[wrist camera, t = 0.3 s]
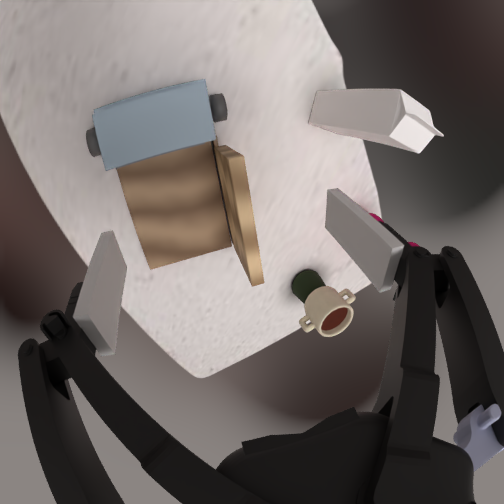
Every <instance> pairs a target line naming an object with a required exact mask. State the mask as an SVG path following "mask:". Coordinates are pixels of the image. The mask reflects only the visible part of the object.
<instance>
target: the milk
mask: <svg viewBox="0 0 504 504" xmlns="http://www.w3.org/2000/svg"><path fill="white" fill-rule="evenodd" d="M308 123H309V124H311V125H314V126H317V127H320V128H322V129H325V130H328V131H331V132H333V133H336V134H340V135H345V136H351V137H355V138H360V139H365V140H369V141H374V142H378V143H382V144H386V145H390V146H394V147H398V148H402V149H405V150H409V151H413V152H416V153H420V152H421V151H422V150H423V149H424V147H425V146H426V145H427V144H428V143H429V142H430V140H431V139H432V138H433V137H434V136H435V135H439V136H444V135H443V134H441V133H440V132H439V131H438V130H437V129H435V128H434V126H433V122H432V118H431V114H430V111H429V110H428V109H426V108H425V107H424V106H423V105H421V104H420V103H419V102H417V101H416V100H415V99H413V98H412V97H410V96H409V95H408V94H406V93H405V92H403V91H402V90H400V89H344V90H327V91H317V92H316V96H315V100H314V104H313V107H312V111H311V115H310V119H309V122H308Z"/></svg>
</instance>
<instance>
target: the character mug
mask: <svg viewBox="0 0 504 504" xmlns="http://www.w3.org/2000/svg"><path fill="white" fill-rule="evenodd" d="M292 290H293V293H294V294H295V295H296V296H297V297H298V298H299V299H300V300H301V301H302V302H303V303H304V304H305V305H304V308H305V312H306V316H304V317H303V318H301V319H300V320H299V323H300V325H301V327H302V328H303V330H304V331H305V332H310V331H311V330H313V329H314V328H316V329H317V331H318V332H319V333H320V334H321V335H323V336H325V337H331V336H335V335H337V334H339V333H341V332H342V331H343V330H345V329H346V327H347V326H348V325H349V324H350V322H351V321H352V318H353V309H352V308H351V306H350V305H349V304H350V303H352V302H353V301H354V300H355V299H356V298H355V296H354V295H353V294H352V293H351V292H350V291H349V290H348V289H344V290H343V291H341V292H340V293H338V292H337V291H336V290H335V289H334V288H331V287H329V286H326V285H325V283H324V282H323V280H322V279H321V277H320V276H319V275H318V273H317V272H315V271H312V270H308V271H303V272H302V273H300V274H299V275H297V277H296V278H295V280H294V281H293V285H292ZM345 295H347V296H348V297H349V298H348V299H347V300H344V298H343V296H345ZM309 319H310V321H311V322H312V324H310V325H309V326H307V324H306V323H305V322H306V321H308V320H309Z"/></svg>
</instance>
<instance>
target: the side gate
mask: <svg viewBox="0 0 504 504" xmlns="http://www.w3.org/2000/svg"><path fill="white" fill-rule="evenodd" d="M214 150H215V155H216V160H217V165H218V170H219V175H220V180H221V185H222V190H223V196H224V200H225V205H226V210H227V215H228V220H229V225H230V230H231V235H232V240H233V244H234V248H235V250H236V253H237V255H238V257H239V259H240V261H241V263H242V266H243V268H244V270H245V272H246V274H247V276H248V279H249V281H250V283H251V285H252V286H256V285H259V284H263V283H264V278H263V271H262V265H261V259H260V252H259V246H258V240H257V234H256V227H255V221H254V215H253V209H252V203H251V196H250V190H249V184H248V178H247V172H246V166H245V160H244V156H243V155H241V154H240V153H238V152H236V151H235V150H233V149H231V148H230V147H228V146H226V145H223V146H219V147H214Z"/></svg>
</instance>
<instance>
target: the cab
mask: <svg viewBox="0 0 504 504" xmlns="http://www.w3.org/2000/svg"><path fill="white" fill-rule="evenodd" d="M92 117H93V121H94V126H95V128H92V129H90V130H87V133H86V139H87V145H88V148H89V151H90V153H91V155H92V156H93V157H95V156H97V155H100V154H101V155H102V159H103V162H104V166H105V170H106V171H107V170H110V169H113V168H116V169H118V168H121V167H124V166H127V165H130V164H133V163H136V162H140V161H143V160H146V159H149V158H153V157H156V156H160V155H163V154H167V153H171V152H174V151H178V150H182V149H186V148H190V147H194V146H198V145H202V144H205V142H209V141H213V140H215V139H216V135H215V130H214V124H213V121H214V122H218V121H223V120H227V106H226V102H225V98H224V96H223V94H222V93H221V94H215V95H210V96H209V97H208V91H207V86H206V80H205V79H202V80H197V81H192V82H187V83H182V84H178V85H173V86H169V87H165V88H161V89H157V90H153V91H150V92H146V93H143V94H139V95H136V96H132V97H129V98H126V99H123V100H120V101H117V102H114V103H111V104H108V105H105V106H103V107H100V108H97V109H95V110H94V114H93V115H92Z"/></svg>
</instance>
